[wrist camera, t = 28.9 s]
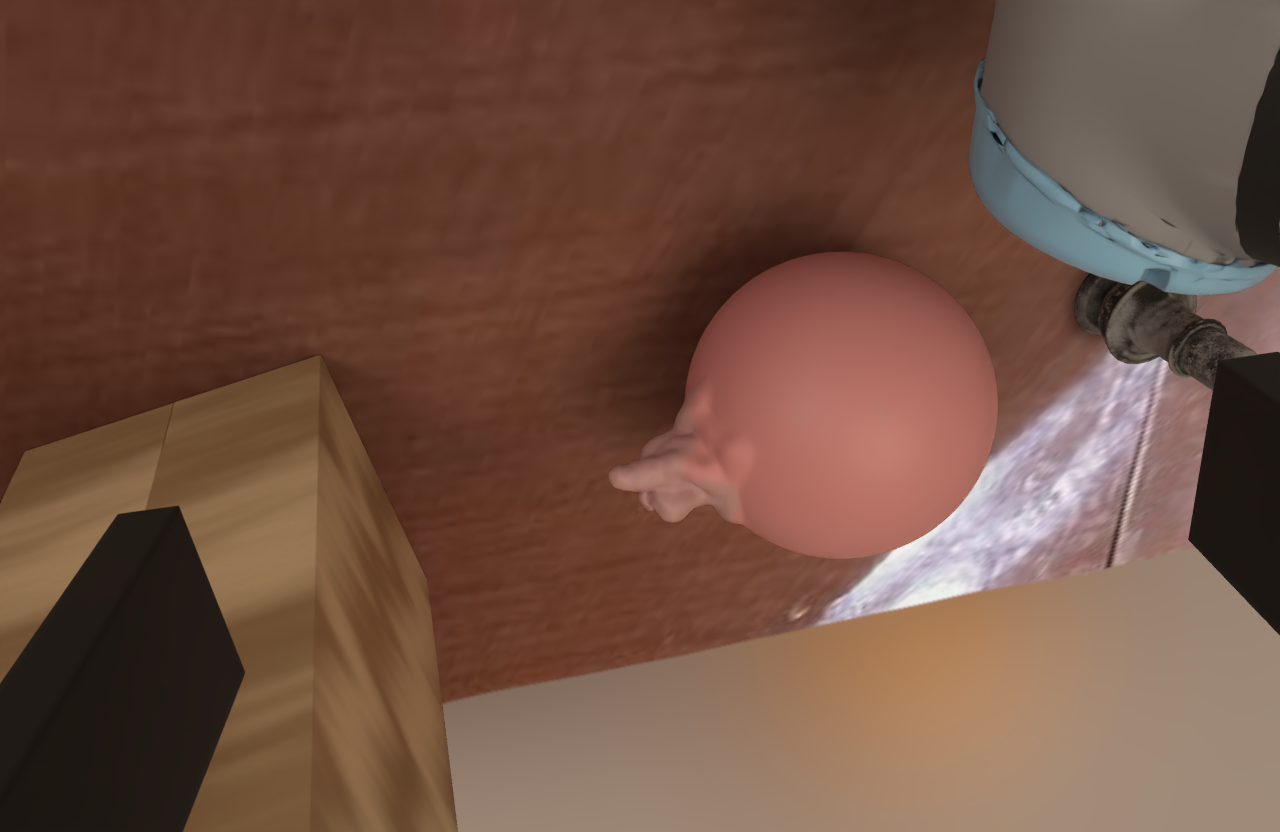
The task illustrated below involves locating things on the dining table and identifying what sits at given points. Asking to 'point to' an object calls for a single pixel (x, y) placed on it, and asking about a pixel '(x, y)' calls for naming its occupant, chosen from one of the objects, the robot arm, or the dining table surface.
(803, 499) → the balloon
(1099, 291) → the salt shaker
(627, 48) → the dining table surface
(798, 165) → the dining table surface
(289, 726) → the step stand
